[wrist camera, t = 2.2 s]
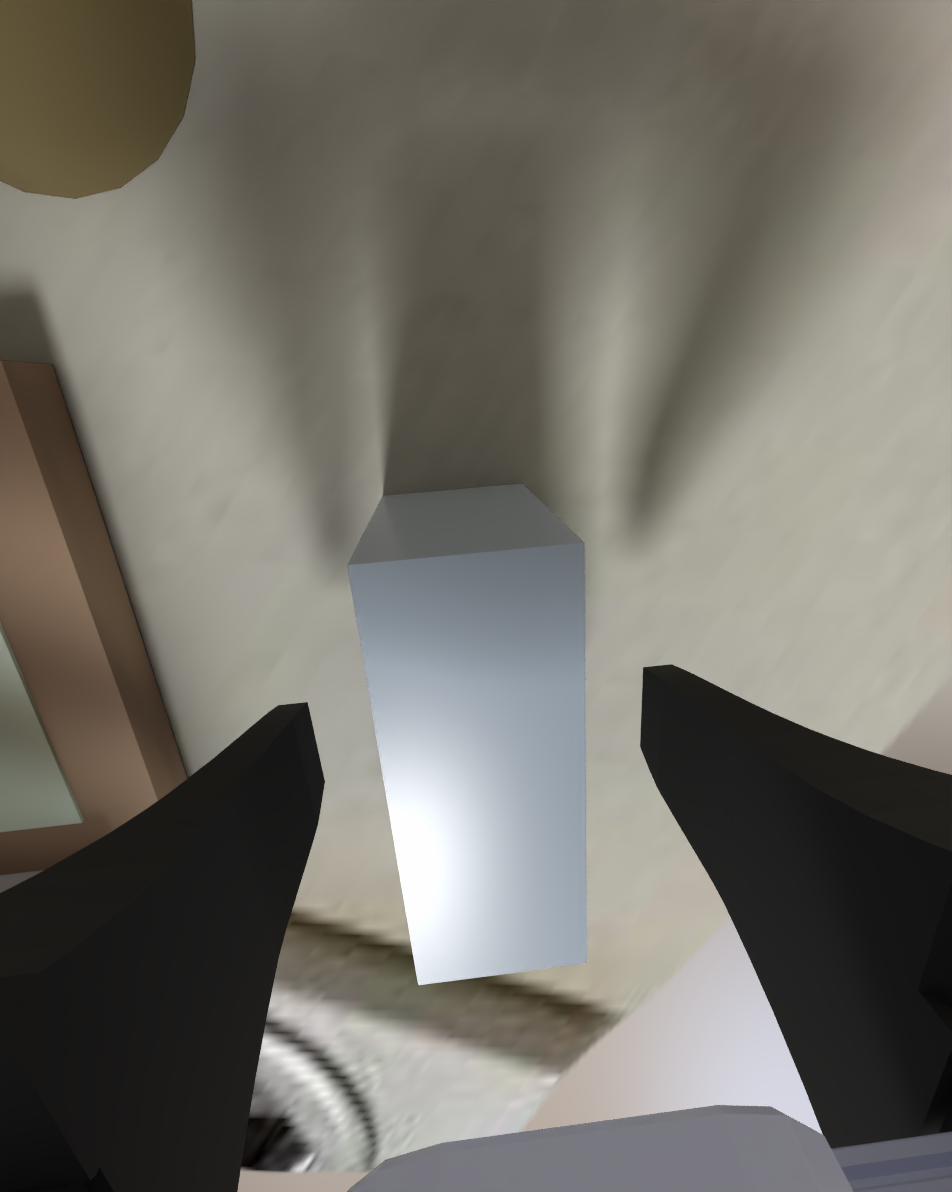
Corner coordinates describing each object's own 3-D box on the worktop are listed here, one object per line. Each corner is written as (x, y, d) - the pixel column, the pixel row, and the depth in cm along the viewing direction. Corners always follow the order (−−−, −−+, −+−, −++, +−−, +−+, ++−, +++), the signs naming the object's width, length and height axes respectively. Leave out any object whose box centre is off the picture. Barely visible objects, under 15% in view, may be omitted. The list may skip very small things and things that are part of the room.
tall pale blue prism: (535, 773, 17) (586, 962, 11) (423, 786, 17) (418, 985, 11) (521, 482, 14) (583, 542, 8) (383, 495, 13) (347, 565, 8)
